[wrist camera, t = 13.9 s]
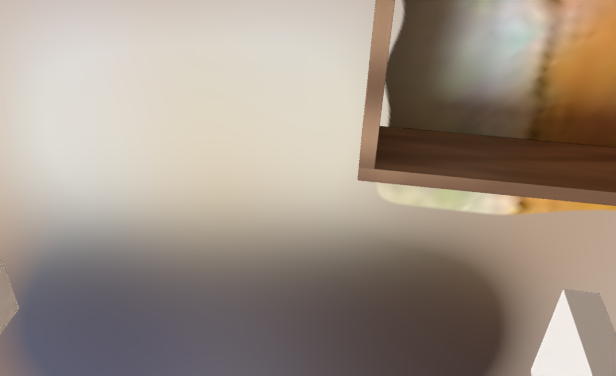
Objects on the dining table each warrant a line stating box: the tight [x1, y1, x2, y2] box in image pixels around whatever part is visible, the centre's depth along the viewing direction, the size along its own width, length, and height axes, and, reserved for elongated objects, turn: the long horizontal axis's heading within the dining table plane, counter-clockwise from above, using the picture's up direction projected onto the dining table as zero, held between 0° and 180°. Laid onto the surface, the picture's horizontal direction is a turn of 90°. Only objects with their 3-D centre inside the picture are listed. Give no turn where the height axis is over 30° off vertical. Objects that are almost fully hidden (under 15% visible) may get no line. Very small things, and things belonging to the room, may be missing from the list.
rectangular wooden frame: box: [358, 0, 616, 206], centre depth 36 cm, size 14×22×6 cm, turn 88°
